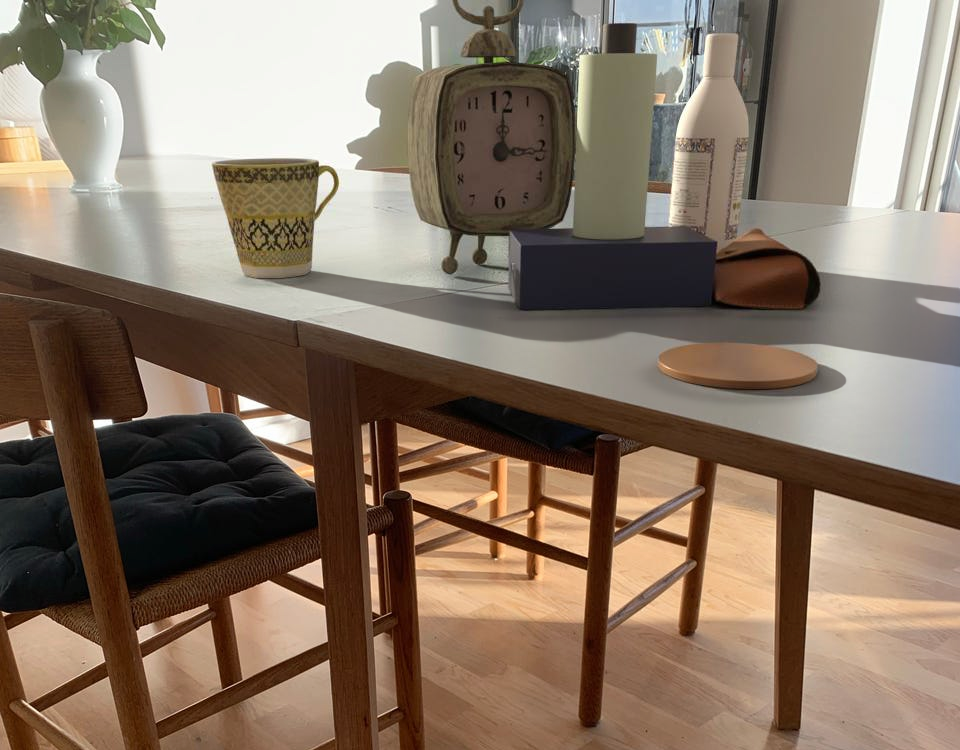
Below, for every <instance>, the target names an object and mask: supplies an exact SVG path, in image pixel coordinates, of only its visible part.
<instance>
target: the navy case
mask: <svg viewBox="0 0 960 750" xmlns="http://www.w3.org/2000/svg"><path fill="white" fill-rule="evenodd" d="M717 243H718V242H717V241H715V240H713V239H711V238H709V237H707V236H705V235H703V234H701V233H699V232H696V231H694V230H692V229H690V228H688V227H686V226H671V227H668V226H645V230H644V236H642V237H640V238H634V239H623V240H597V239H585V238H579V237H576V236H574V235H573V227H564V228H549V229H509V236H508V279H507V280H508V282H507V283H508V290H509V292H510V294H511V296H512V298H513V300H514V301H515V303H516V305H517V307H518V309H519V311H544V310H545V311H546V310H589V309H590V310H591V309H631V308H632V309H633V308H637V309H638V308H639V309H640V308H675V307H676V308H678V307H679V308H681V307H710V306H711V305H712V299H713V297H712V288H713V279H714V270H715V261H716V252H717Z"/></svg>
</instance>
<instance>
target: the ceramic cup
mask: <svg viewBox="0 0 960 750" xmlns="http://www.w3.org/2000/svg"><path fill="white" fill-rule="evenodd" d="M211 167H212V171H213V176H214V180H215V184H216V188H217V191H218V194H219V197H220V201H221V204H222V208H223V210H224V213H225V216H226V219H227V222H228V226H229V231H230V234H231V237H232V240H233V244H234V247H235V251H236V254H237V257H238V258H237V259H238V262H239V263H240V267H241V271H242V273H243V275H244V276H246V277H251V278H253V279H286V278H293V277H301V276H306V275H307V274H309V273H310V272H311V271H312V268H313V249H314V248H313V247H314V233H315V222H316V220H318V218H319V217H320V216H321V214H322V212H323V210H324V208H325V207H326V206H327V204H328V203H329V202H330V201H331V200H332V199H333V198H334V197H335V195H336V193H337V192H338V189H339V186H340V180H339V176H338V173H337V171H336V170H335V168H334V167H332V166H330V165H325V164H324V165H320V161H319V160H317V159H314V158H296V157H295V158H294V157H292V158H291V157H289V158H288V157H278V158H277V157H273V158H272V157H271V158H270V157H269V158H266V157H265V158H241V159H227V160H218V161H214V162H212V163H211ZM326 172H328V173H329V174H330V175H331V176H332V178H333V187H332V189H331V191H330V192H329V193H328V195H327V196H326V197H325V198H324V199H323V200H322V201H321V202H320V204H319V205H318V207H317V200H318V188H319V178H320V176H321V175H322V174H324V173H326ZM316 208H317V209H316Z"/></svg>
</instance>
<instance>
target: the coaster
mask: <svg viewBox="0 0 960 750" xmlns="http://www.w3.org/2000/svg"><path fill="white" fill-rule="evenodd" d="M657 367H658V369H659V371H660V372H662V373H663V374H665V375H666V376H669V377H670V378H673V379H675V380H679V381H682V382H686V383H689V384H690V383H691V384H695V385H700V386H705V387H713V388H720V389H721V388H723V389H732V390H771V389H783V388H789V387H794V386H795V387H796V386H799V385H802V384H806V383H808V382H810V381H812V380H814V379H815V378H816V377H817V374H818V370H819V363H818V362H817V361H816V360H815V359H814V358H812V357H811V356H808V355H806V354H804V353H801V352H799V351H795V350H791V349H787V348H782V347H778V346H771V345H766V344H765V345H764V344H758V343H757V344H755V343H745V342H705V343H704V342H702V343H693V344H685V345H680V346H676V347H672V348H669V349H667V350H665V351H663V352H662V353H660V354H659V356H658V360H657Z"/></svg>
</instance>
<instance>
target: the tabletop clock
mask: <svg viewBox="0 0 960 750" xmlns="http://www.w3.org/2000/svg"><path fill="white" fill-rule="evenodd" d="M452 5H453V7H454V9H455V11H456V12H457V14H458V15H459V16H460V17H461V19H463V20H464V21H467V22H469V23H471V24H473V25H478V26H482V29H479V30H475V31H473V32H472V33H470V34H469V36H467V38H466V39H465V41H464V44H463V46H462V48H461V52H460V55H459V57H460V58H467V59H468V58H473V59H475V58H476V59H477V58H479V59H480V58H481V59H483V62H482V63H481V62H480V63H470V64H457V65H447V66H438V67H433V68H430V69H427V70H426V71H424V72H422V73H420V74H418V75H416V76H415V77H414V82H413V84H412V88H411V91H410V94H409V95H410V96H409V101H408V110H407V111H408V112H407V141H406V143H407V145H406V146H407V147H406V155H407V162H408V171H409V172H408V173H409V182H410V189H411V195H412V199H413V203H414V207H415V210H416V212H417V214H418V217H419V219H420V221H421V222H424V223H426V224H428V225H431V226H434V227H436V228H440V229H443V230H447V231H449V235H450V242H449V252H448V256H446V257H444V258H443V259H442V260H441V263H440V265H441V270H442V271H443V273H445V274H447V275H453V274H454V273H456V272H457V271H458V267H459V263H458V261H457V259H456V258H455V257H456V253H457V250H458V246H459V243H460V241H461V239H462V237H463V236H464V235H465V236H470V237H471V236H472V237H473V236H474V237H477V248H475V249H474V250H473V251H472V253H471V260H472V262H473V263H474V264H475V265H477V266H480V265H484V264H485V263H486V262H487V260H488V253H487V251H486V249H484V245H485V240H486V237H509V229H553V227H555V226H557V225H558V224H561V223H562V222H564V219H565V216H566V213H567V211H568V208H569V205H570V201H571V195H572V191H573V190H572V189H573V182H574V174H575V164H576V109H575V101H574V93H573V89H572V85H571V82H570V78H569V75H568V74H566V73H564V72H563V71H561V70H559V69H558V68H556V67H552V66H550V65H544V64H537V63H536V64H535V63H527V62H516V61H498V62H497V61H496V62H495V61H494V58H517V57H518V56H517V52H516V48H515V47H516V46H515V45H514V43H513V41H512V39H511V38H510V37H509V35H508V34H507V33H506V32H503V31H501V30H498V29H495V26H499V25H500V26H501V25H504V24H507V23H509V22H512V21H513V20H515V19H516V17H517V16H518V15H519V14H520V13H521V12H522V8H523V6H524V0H518V3H517V6H516V8H514V9H513V10H512V11H510V12H509V13H506V14H504V15H503V14H502V15H501V16H500V15H497V16H495V9H494V7H493V6H491V5H486V6H484V7H483V9H482V15H475V14H473V13H470V12H468V11H466V10H465V9H464V8H463V7H461V6H460V4H459V1H458V0H452Z"/></svg>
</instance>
